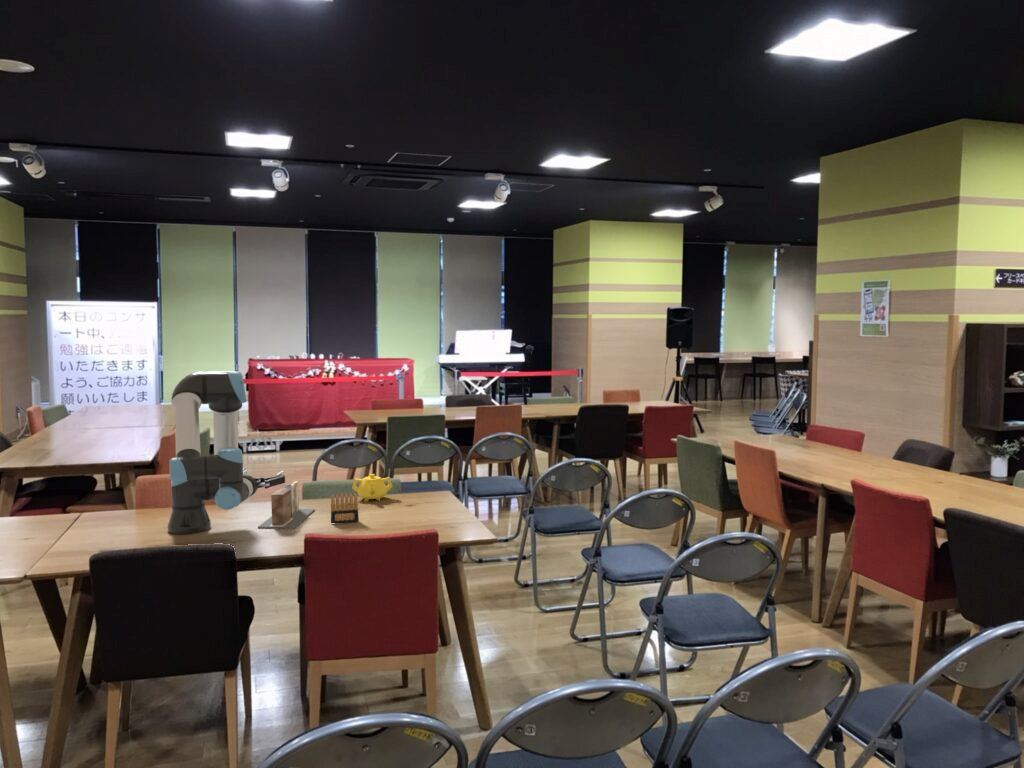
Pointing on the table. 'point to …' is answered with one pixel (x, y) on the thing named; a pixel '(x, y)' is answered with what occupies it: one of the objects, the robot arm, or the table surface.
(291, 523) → the mat
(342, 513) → the ammunition clip
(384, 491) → the teapot
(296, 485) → the birch hinge leaf
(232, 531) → the table surface
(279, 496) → the brown rectangular block
